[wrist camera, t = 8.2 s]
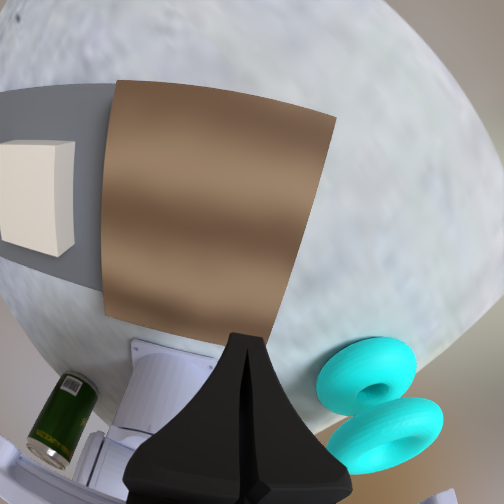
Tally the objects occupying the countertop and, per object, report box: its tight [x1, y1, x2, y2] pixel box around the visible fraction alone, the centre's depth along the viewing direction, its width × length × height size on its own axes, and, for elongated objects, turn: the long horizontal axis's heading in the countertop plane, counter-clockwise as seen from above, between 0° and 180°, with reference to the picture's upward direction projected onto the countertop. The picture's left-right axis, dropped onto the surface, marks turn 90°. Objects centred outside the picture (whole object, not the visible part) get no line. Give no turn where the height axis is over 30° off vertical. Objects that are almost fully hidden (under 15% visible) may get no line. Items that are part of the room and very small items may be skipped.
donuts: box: [316, 337, 443, 474], centre depth 20 cm, size 10×10×10 cm
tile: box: [0, 140, 75, 257], centre depth 17 cm, size 8×7×2 cm
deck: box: [101, 80, 337, 346], centre depth 17 cm, size 16×12×3 cm
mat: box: [0, 84, 116, 292], centre depth 18 cm, size 16×14×1 cm
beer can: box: [26, 371, 98, 470], centre depth 23 cm, size 5×5×12 cm
